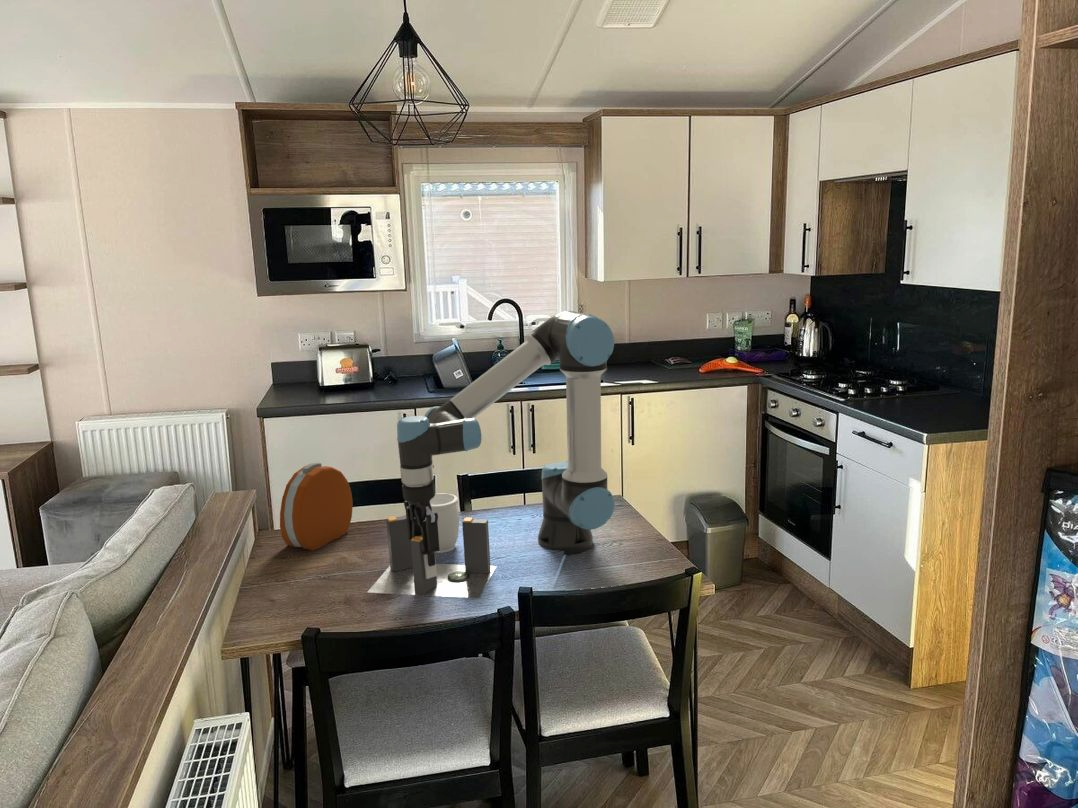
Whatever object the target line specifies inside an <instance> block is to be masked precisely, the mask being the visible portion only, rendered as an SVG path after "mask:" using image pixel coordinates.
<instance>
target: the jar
mask: <svg viewBox="0 0 1078 808" xmlns="http://www.w3.org/2000/svg"><path fill="white" fill-rule="evenodd" d="M458 502H459V498H458V496H457V495H455V494H452V493H447V492H446V493H442V492H440V493H435V496H434V497H433V498H432V499H431V500H430V504H431V508H432V512H433V513H437V514H438V521H437V524H438V536H439V549H440V551H438V552H435V554H436V553H437V554H439V553H440V554H441V553H448V552H451V551H453V550H454V549H456V547H457V545H456V544H457V542H458V538H459V530H460V529H459V528H460V512H459V509H458V506H457V504H458ZM425 521H426V520H425Z"/></svg>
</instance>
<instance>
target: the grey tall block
mask: <svg viewBox="0 0 1078 808" xmlns="http://www.w3.org/2000/svg"><path fill="white" fill-rule="evenodd" d="M385 522H386V532H387V545H388V556H389V566H390V569H391V570H392V571H393V572H395V571H399V570H404V569H408V568H413V562H412V549H411V540H409V538H408V529H407V519H406V514H405V515H401V516H394V515H393V516H387V517H386V520H385Z"/></svg>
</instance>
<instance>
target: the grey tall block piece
mask: <svg viewBox="0 0 1078 808" xmlns="http://www.w3.org/2000/svg"><path fill="white" fill-rule="evenodd" d="M461 523H462V538H463V539H462V540H463V556H464V565H465V572H467V573H489V571H490V570H491V567H490V566H491V553H490V552H491V551H490V549H491V548H490V535H489V534H490V533H489V531H490V530H489V519H486V518H485V519H484V518H481V519H479V518H474V517H471V516H470V517H468V516H467V517H464V519H463V520H462V522H461Z"/></svg>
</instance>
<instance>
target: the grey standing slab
mask: <svg viewBox="0 0 1078 808" xmlns="http://www.w3.org/2000/svg"><path fill="white" fill-rule="evenodd" d="M411 549H412V562H413V575H414V588H415V594H419V595H418V596H424V594H426V593H427V592H428V591H430V590H431V589H432V588H434V587H435V586H436V585H437V576H435V577H432V578H429V579H426V578H425V568H424V557H423V554H422V552H425V549H424V544H423V539H422V534H421V535H420V536H415V537H414V538H412V539H411Z"/></svg>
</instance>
